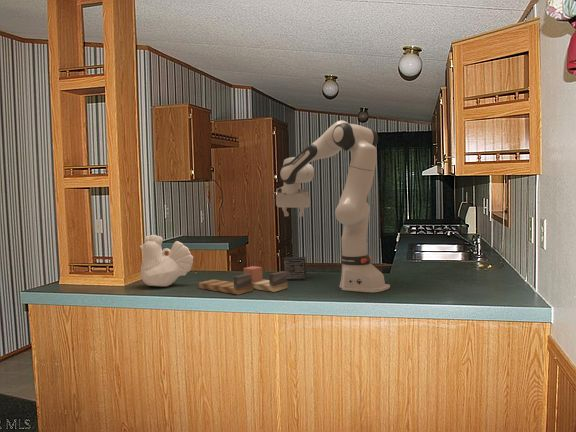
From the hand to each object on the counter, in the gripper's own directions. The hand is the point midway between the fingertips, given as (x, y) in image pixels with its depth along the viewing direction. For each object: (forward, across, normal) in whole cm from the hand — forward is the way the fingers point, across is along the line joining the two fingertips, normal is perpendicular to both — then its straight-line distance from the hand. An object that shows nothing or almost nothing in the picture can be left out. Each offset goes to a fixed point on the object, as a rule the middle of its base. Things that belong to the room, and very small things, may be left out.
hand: (293, 216), depth 284 cm
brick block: (+26, -4, +35) cm, 44 cm away
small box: (+29, -10, +12) cm, 33 cm away
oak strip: (+29, +2, +47) cm, 55 cm away
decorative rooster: (+29, +33, +56) cm, 71 cm away
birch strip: (+29, -8, +35) cm, 46 cm away
